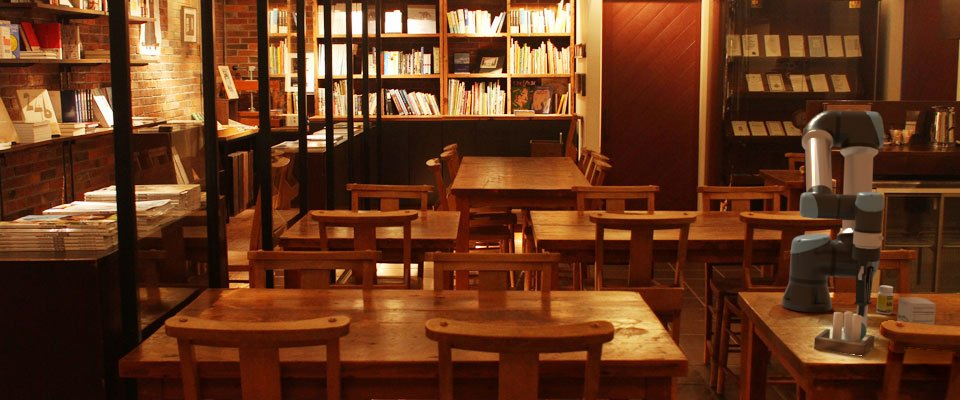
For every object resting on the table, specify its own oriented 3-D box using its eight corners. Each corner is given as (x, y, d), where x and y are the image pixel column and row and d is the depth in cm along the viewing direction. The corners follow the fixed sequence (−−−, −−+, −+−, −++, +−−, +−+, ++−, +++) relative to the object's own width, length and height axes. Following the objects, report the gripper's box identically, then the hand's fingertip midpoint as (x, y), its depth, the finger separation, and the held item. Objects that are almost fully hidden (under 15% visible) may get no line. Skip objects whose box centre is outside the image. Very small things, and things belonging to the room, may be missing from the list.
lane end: (814, 348, 282) (814, 337, 282) (825, 339, 292) (826, 328, 292) (863, 356, 275) (864, 345, 275) (873, 346, 285) (874, 336, 285)
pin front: (843, 343, 288) (843, 314, 285) (845, 339, 290) (845, 310, 287) (852, 344, 287) (852, 315, 284) (854, 340, 288) (854, 311, 285)
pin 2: (849, 348, 283) (851, 316, 282) (851, 346, 285) (853, 314, 284) (858, 349, 282) (860, 317, 281) (860, 347, 284) (862, 315, 283)
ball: (845, 314, 291) (847, 325, 296) (840, 332, 288) (843, 343, 293) (867, 317, 288) (869, 328, 293) (863, 336, 285) (865, 346, 290)
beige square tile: (833, 338, 293) (833, 337, 293) (842, 331, 301) (842, 330, 301) (869, 344, 287) (869, 343, 287) (877, 336, 296) (878, 336, 296)
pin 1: (830, 345, 286) (832, 313, 285) (833, 343, 288) (835, 311, 287) (839, 346, 285) (841, 314, 283) (841, 344, 287) (844, 312, 285)
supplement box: (894, 340, 292) (897, 296, 290) (919, 340, 293) (923, 296, 291) (907, 347, 285) (911, 303, 283) (933, 347, 285) (936, 303, 284)
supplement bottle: (887, 315, 322) (889, 288, 321) (873, 312, 325) (875, 286, 324) (895, 313, 325) (897, 287, 324) (881, 310, 328) (883, 284, 327)
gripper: (875, 251, 288) (869, 333, 292) (885, 244, 299) (879, 324, 302) (847, 248, 292) (842, 329, 296) (858, 241, 303) (853, 320, 306)
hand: (861, 326), depth 299 cm, fingers closed
